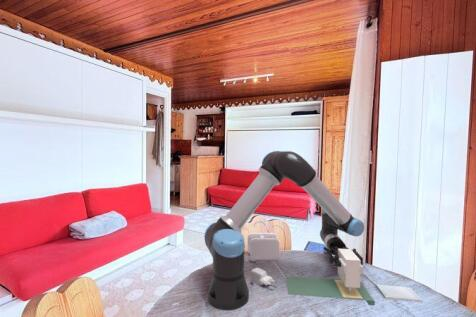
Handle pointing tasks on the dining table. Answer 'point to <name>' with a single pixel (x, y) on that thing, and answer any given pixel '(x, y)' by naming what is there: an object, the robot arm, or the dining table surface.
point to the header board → (326, 288)
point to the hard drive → (398, 293)
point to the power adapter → (261, 277)
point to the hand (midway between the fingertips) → (353, 270)
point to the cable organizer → (263, 246)
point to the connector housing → (350, 268)
